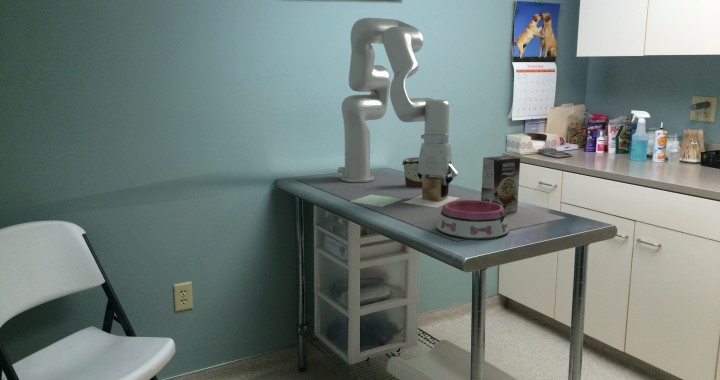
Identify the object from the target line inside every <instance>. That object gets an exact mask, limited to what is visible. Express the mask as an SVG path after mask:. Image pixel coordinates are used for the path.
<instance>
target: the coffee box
mask: <svg viewBox="0 0 720 380" xmlns="http://www.w3.org/2000/svg"><path fill="white" fill-rule="evenodd" d="M520 171H521V158H520V157H517V156H509V155H500V156H489V157H487V156H485V157H483V160H482V173H481V174H482V176H481V190H480V191H481V194H480V195H481V196H480V201H488V202H493V203H497V204H499V205H501V206H503V208H504V211H505V214H512V213H517V212H518V207H519V206H518V205H519V204H518V203H519V202H518V201H519V190H520V188H519V186H520V174H521V172H520Z"/></svg>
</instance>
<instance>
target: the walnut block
mask: <svg viewBox="0 0 720 380" xmlns="http://www.w3.org/2000/svg"><path fill="white" fill-rule="evenodd" d="M442 185H443V182H442V179H441V176H431V175H430V176H427V177H424V178H422V187H421V191H422V192H421V196H422V199H423V200H429V201H436V202H440V201H442V200H445V199H447V198H448V196H449V193H448V194H447V196H446V197H441V186H442Z"/></svg>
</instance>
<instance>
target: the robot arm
mask: <svg viewBox="0 0 720 380" xmlns="http://www.w3.org/2000/svg"><path fill="white" fill-rule="evenodd" d="M372 44H379V45H382V44H383V47H384V50H385V53H386V56H387V59H388V62H389V64H390V67H391V69H392V73H393V78H392V81H391V75H390V73H389V70H388V68H386V67H385V66H384V65H379V64H375V58H376V53H375V49H374V48H373V45H372ZM350 46H351V48H350V50H351V51H350V53H351V54H350V62H349V72H348V86H349V89H351V90H352V91H353V92H361V93H362V92H365V93H366V92H370V93H369V94H353V95H348V96H346V97H345V98H344V99H343V101H342V103H341V114H342V119H343V128H344V129H343V130H344V131H343V133H344V166H339V167H338V168H337V173H342V175H341V176H340V180H341V181H342V182H346V183H368V182H372V181H374V180H375V176H374V175H373V174H371V133H370V129H369V127H368V125H367V123H366V121H376V120H380V119H383V117H385V115H386V114H387V113H386V112H387V109H388V101H389V97H390V103H391V105H392V108H393V111H394V112H395V113H394V114H395V115H396V116H397V118H398V120H400V121H401V122H403V123H417V122H418V123H420V122H424V133H423V134H421V135H420V138H421V139H422V140H423V142H421V146H420V150H419V155H418V157H419V164H418V165H417V166H416V167H415V168H414V172H415V173H416V174H417V175H418V177H419V178H420V180H421V182H422V178H424V177H427V176H430V175H431V176H441V179H442V182H443V185H442V186H441V197H446V196H447V194H448V195H449V186H450V184H451V183H452V181H453V180H455V179H456V177H458V176H459V172H458V171H457V170H456V169H455V168H454V166H453V153H452V148H451V144H450V143H449V133H450V132H449V131H450V129H449V128H450V123H449V122H450V102H449V101H448V100H446V99H434V98H431V97H415V98H413V97H410V98H409V96H408V93H407V91H406V86H405V84H406V83H405V82H406V79H408V78H410V77H412V76H414V75H415V74H416V73H417V72H418V70H419V68H420V67H419V63H418V61H417V57H416V55H415V53H418V52H419V51H420V50H422V48H423V46H424V36H423V35H422V32H421V31H420V30H419V29H418V28H417V27H416V26H413V25H411V24H409V23H405V22H403V21H401V20H399V19H394V18H383V17H382V18H380V17H364V18H360V19H358V20H356V21H355V22H354V23H353V25H352V27H351V31H350ZM449 175H450V176H449Z"/></svg>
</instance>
